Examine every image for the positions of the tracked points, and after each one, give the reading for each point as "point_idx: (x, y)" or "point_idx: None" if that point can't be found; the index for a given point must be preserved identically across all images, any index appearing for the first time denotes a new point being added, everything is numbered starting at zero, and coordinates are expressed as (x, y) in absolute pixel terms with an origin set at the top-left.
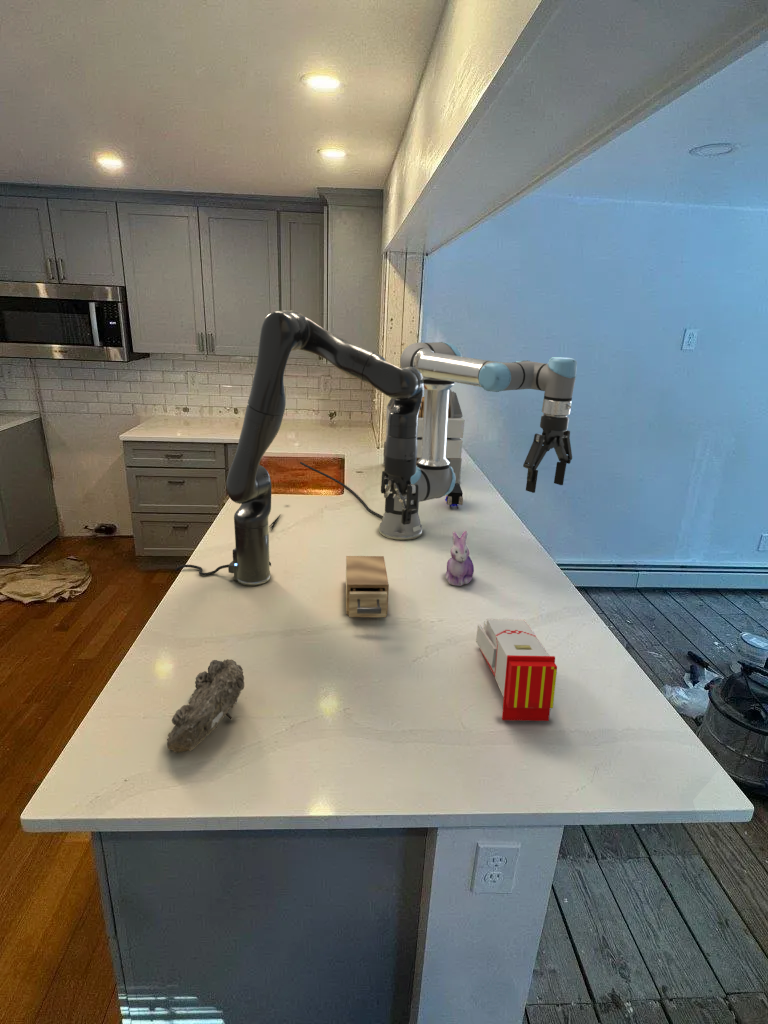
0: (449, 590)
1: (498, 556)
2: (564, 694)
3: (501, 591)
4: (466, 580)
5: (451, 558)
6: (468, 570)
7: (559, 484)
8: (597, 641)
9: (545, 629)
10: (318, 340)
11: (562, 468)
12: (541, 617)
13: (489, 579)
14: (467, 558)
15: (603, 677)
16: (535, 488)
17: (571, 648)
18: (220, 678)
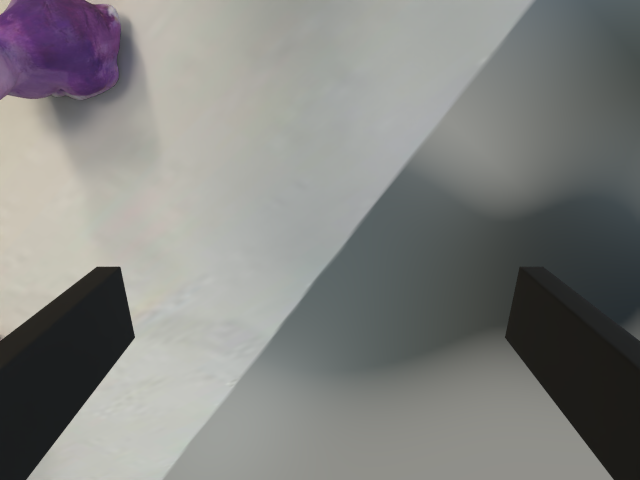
0: None
1: (331, 3)
2: None
3: (151, 187)
4: (73, 96)
5: (7, 9)
6: (64, 90)
7: (510, 320)
8: (180, 417)
9: None
10: None
11: (617, 453)
12: (149, 318)
13: (171, 115)
14: (41, 70)
15: (101, 465)
16: (115, 360)
17: (117, 405)
18: None
